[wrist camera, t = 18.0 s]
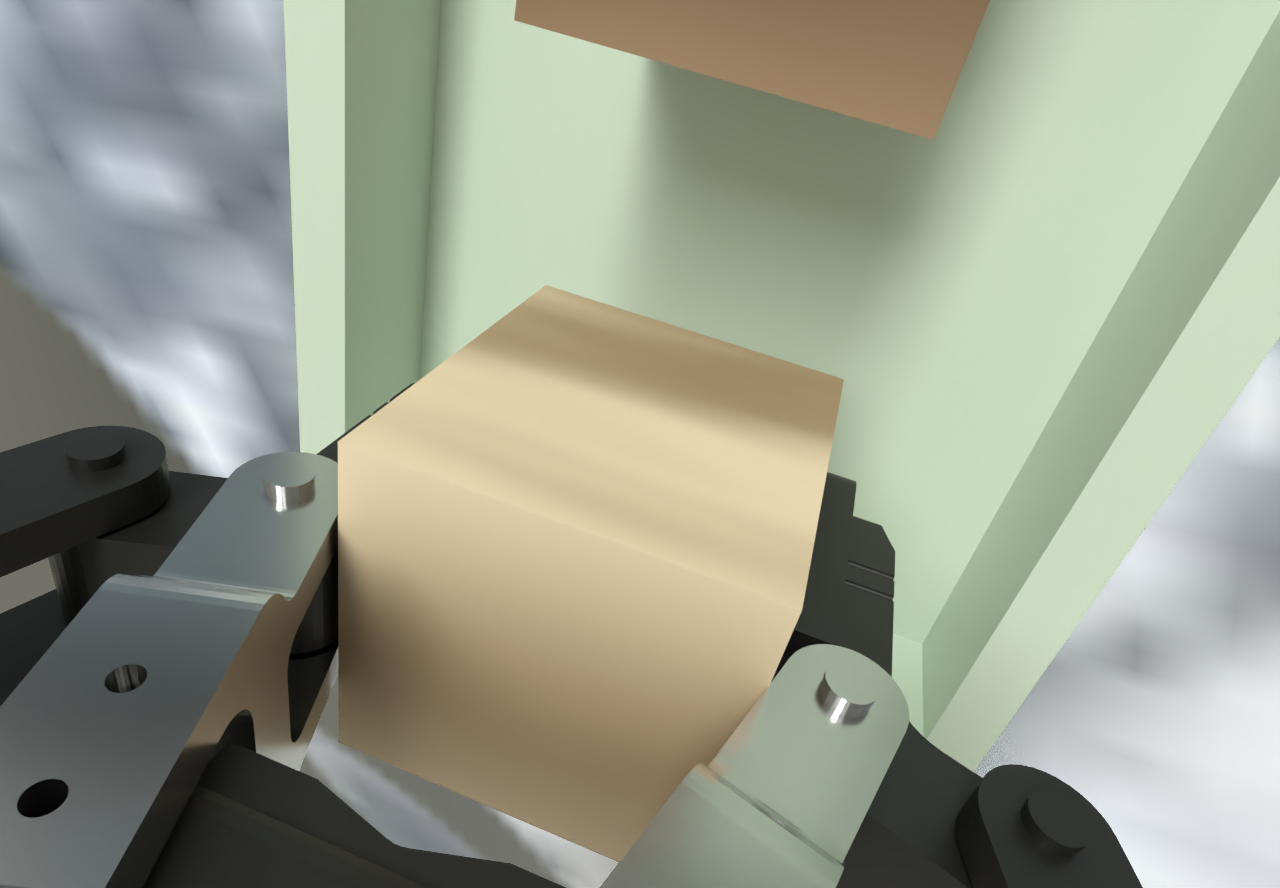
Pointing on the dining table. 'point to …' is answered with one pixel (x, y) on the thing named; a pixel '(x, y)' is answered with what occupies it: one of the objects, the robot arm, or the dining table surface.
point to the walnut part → (794, 47)
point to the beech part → (576, 561)
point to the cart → (835, 269)
